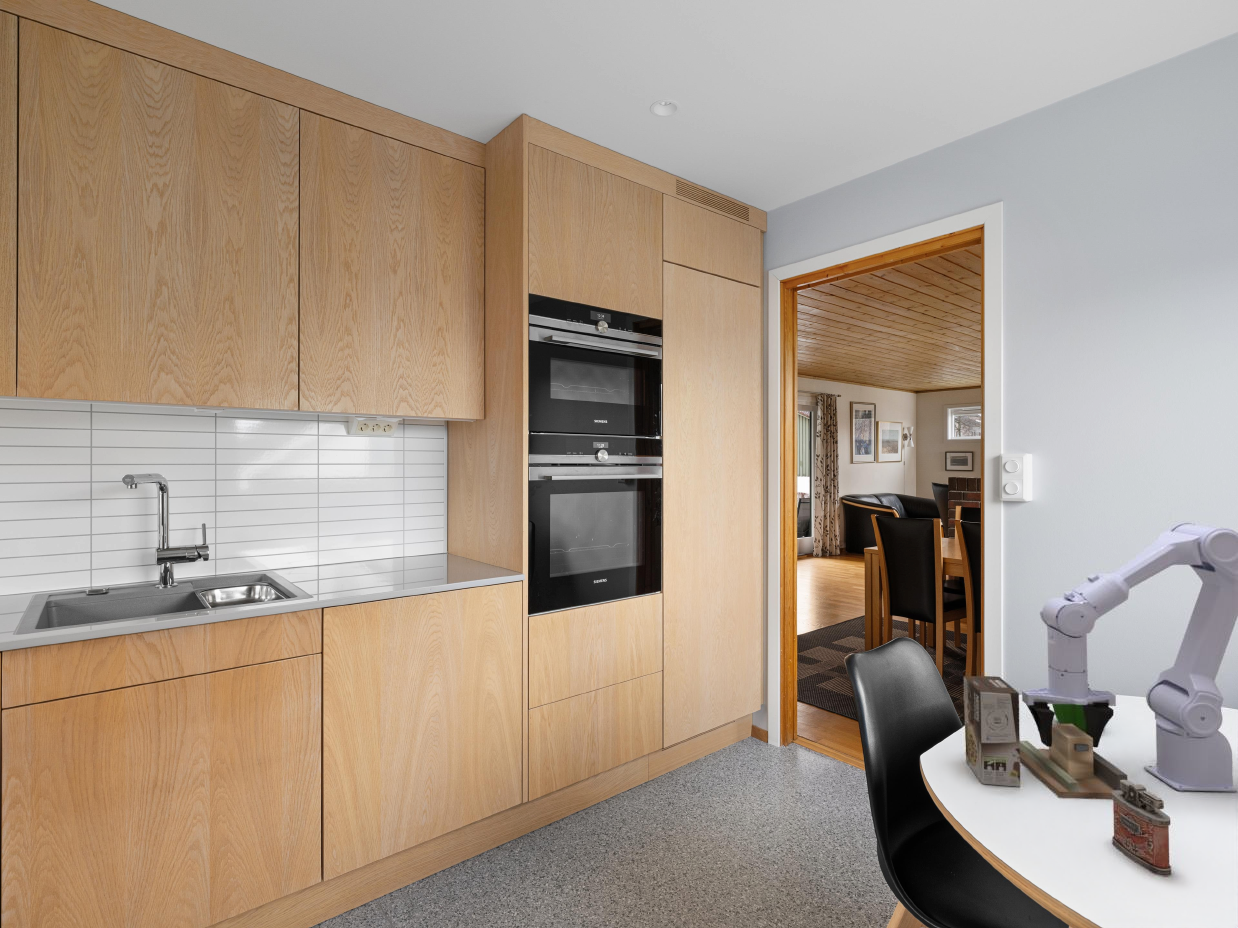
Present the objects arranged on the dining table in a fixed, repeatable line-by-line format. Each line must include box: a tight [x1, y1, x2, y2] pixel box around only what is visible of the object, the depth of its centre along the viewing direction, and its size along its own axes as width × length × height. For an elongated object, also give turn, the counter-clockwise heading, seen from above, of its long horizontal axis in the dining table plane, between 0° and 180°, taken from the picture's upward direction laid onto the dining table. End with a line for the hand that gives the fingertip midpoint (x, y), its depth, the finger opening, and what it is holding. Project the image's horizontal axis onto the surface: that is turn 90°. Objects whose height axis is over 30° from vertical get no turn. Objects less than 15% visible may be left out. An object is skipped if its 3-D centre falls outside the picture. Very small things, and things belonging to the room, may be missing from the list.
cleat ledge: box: [1020, 740, 1128, 800], centre depth 115 cm, size 12×16×4 cm
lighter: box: [1111, 779, 1172, 877], centre depth 91 cm, size 8×3×10 cm, turn 5°
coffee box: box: [963, 675, 1021, 788], centre depth 116 cm, size 9×6×16 cm
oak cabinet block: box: [1048, 723, 1094, 779], centre depth 114 cm, size 4×7×7 cm, turn 174°
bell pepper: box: [1051, 683, 1092, 732], centre depth 134 cm, size 8×8×10 cm
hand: (1069, 744), depth 115 cm, fingers open, 7 cm apart
